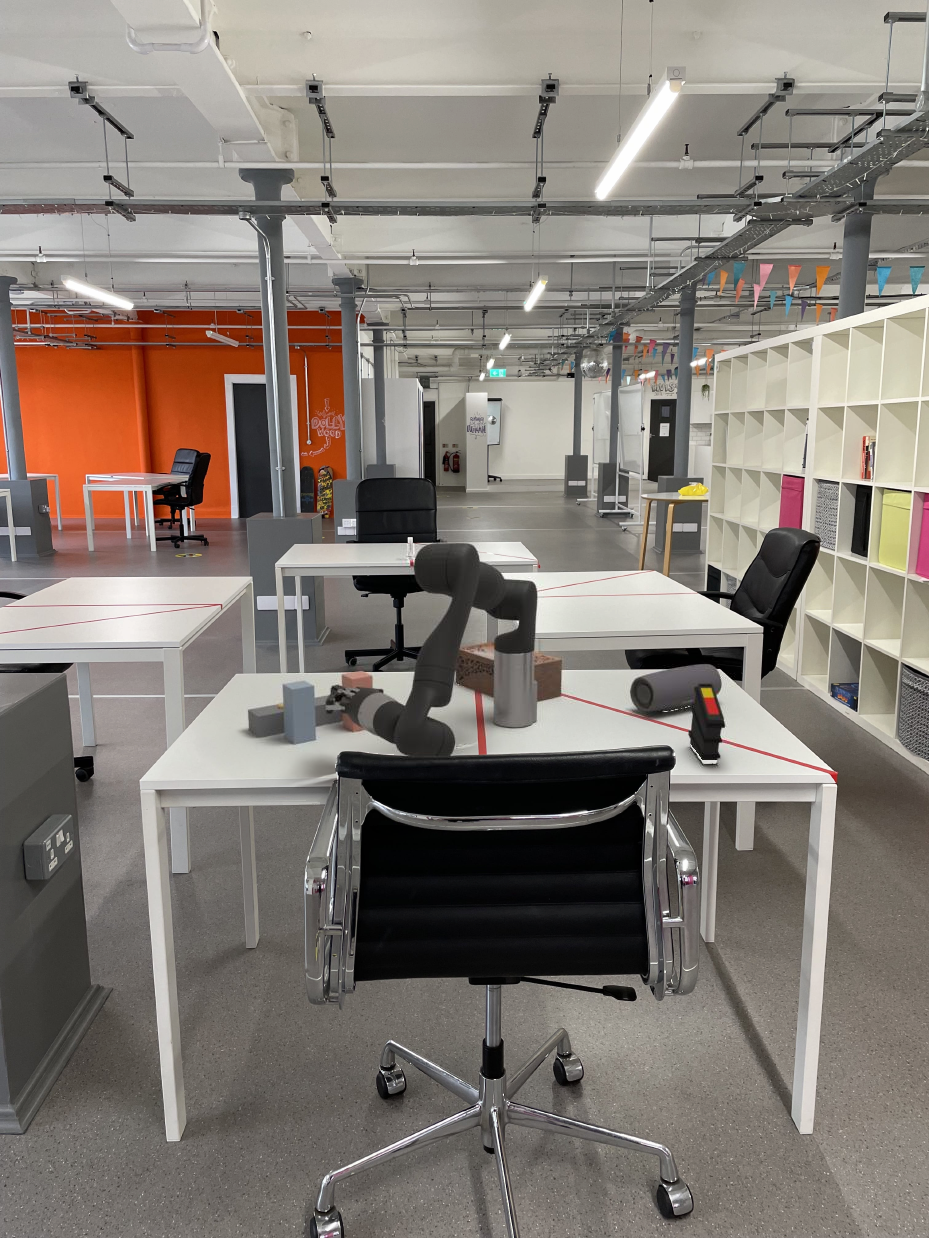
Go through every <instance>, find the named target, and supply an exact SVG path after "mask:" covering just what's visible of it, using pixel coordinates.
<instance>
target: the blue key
mask: <svg viewBox="0 0 929 1238" xmlns="http://www.w3.org/2000/svg"><path fill="white" fill-rule="evenodd" d="M315 698H316V697H315V685H313V684H312V683H309V682H308V681H306V680H299V681H292V682H287V683H282V700H283V701H282V703H283V708H284V732H285V733H284V738H285V740H287V741H289V742H290V743H292V744H293V745H298V744H302V743H303V744H304V743H308V742H312V741H316V740H317V732H316V731H317V729H316V722H315Z"/></svg>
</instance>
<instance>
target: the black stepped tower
mask: <svg viewBox="0 0 929 1238" xmlns="http://www.w3.org/2000/svg"><path fill="white" fill-rule="evenodd" d="M694 690H695V694H696V696H695V702H694V704H693V706H691V707H690V711H691V713H692V716H691V717H692V718H691V725H690V730H688V737H689V739H690V741H689V745H690V744H691V745H692V747H693V748H694V749H695V750H696V752H697V753H698V754H699V756H700V757H701V759H702V760H718V761H719V759H721V754H720V751H719V749H720V747H719V746H720V744H722V743H723V739H722V737H721V733H722V729H725V728H726V723H725V716H724V713H723V711H722V708H721V705H720V701H719V699H718V697H717V695H718V694H717V695H716V692H715V689H714V686H713V684H711V683H699V684H698V687H695V688H694Z"/></svg>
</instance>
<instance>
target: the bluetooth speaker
mask: <svg viewBox="0 0 929 1238" xmlns="http://www.w3.org/2000/svg"><path fill="white" fill-rule="evenodd" d="M721 677H722V676H721V675H720V672H719V671H718V669H717V668H716V666H714V665H712V664H709V663H707V664H706V663H703V664H691V665H686V666H680V667H674V668H669V669H665V670H660V671H655V672H651V673H647V674H643V675H641V676H638V677H636V678H634V680H633V681H632V682H631V685H630V689H629V693H630V700H631V701H632V702H631V703H632V704H633V705H634V707H635V709H638V710H639V711H642V712H655V711H658V710H660V711H671V710H675V709H681V708H685V707H688V706H692V705H693V706H694V702H695V696H696V694H695V690H694V688H695V687H698V684H699V683H711V684H713V686H714V689H715V692H716V695H718V694H719V693H720V691H721V690H722V687H723V686H722V678H721ZM660 711H659V712H660Z"/></svg>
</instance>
